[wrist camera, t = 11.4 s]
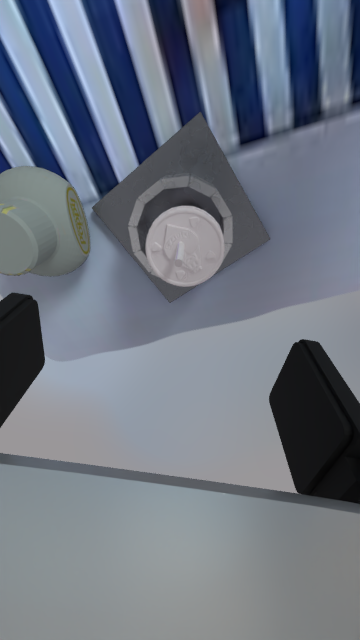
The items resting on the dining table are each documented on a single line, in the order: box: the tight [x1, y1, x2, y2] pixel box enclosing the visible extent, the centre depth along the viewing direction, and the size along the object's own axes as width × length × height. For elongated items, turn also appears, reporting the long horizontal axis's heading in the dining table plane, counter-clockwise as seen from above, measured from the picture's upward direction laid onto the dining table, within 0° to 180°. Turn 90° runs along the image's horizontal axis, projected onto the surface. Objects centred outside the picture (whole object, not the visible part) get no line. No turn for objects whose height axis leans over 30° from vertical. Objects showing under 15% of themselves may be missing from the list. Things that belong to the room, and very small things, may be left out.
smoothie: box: [145, 206, 225, 287], centre depth 24 cm, size 6×6×14 cm
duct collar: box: [92, 112, 270, 303], centre depth 28 cm, size 14×14×6 cm
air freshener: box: [0, 166, 90, 276], centre depth 27 cm, size 11×8×10 cm
